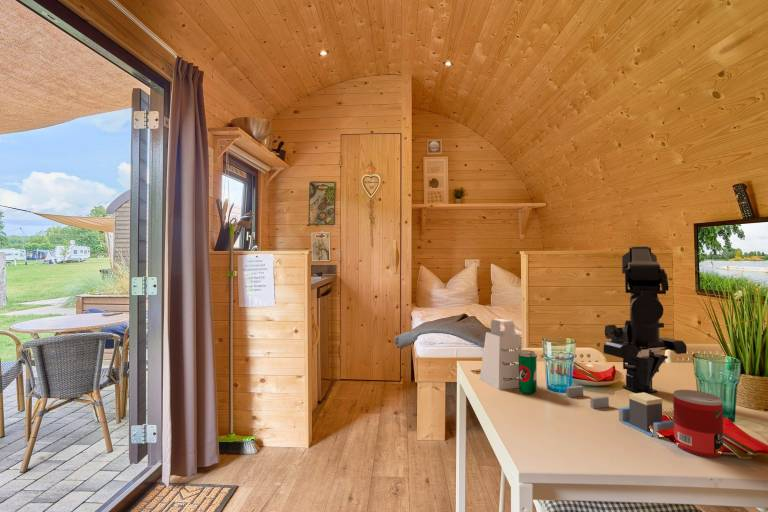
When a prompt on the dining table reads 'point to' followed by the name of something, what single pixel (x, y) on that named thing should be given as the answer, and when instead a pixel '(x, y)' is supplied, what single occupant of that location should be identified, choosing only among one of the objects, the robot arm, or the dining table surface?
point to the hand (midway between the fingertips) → (645, 384)
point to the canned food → (698, 422)
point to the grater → (501, 356)
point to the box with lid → (644, 410)
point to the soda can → (527, 372)
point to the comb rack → (623, 412)
